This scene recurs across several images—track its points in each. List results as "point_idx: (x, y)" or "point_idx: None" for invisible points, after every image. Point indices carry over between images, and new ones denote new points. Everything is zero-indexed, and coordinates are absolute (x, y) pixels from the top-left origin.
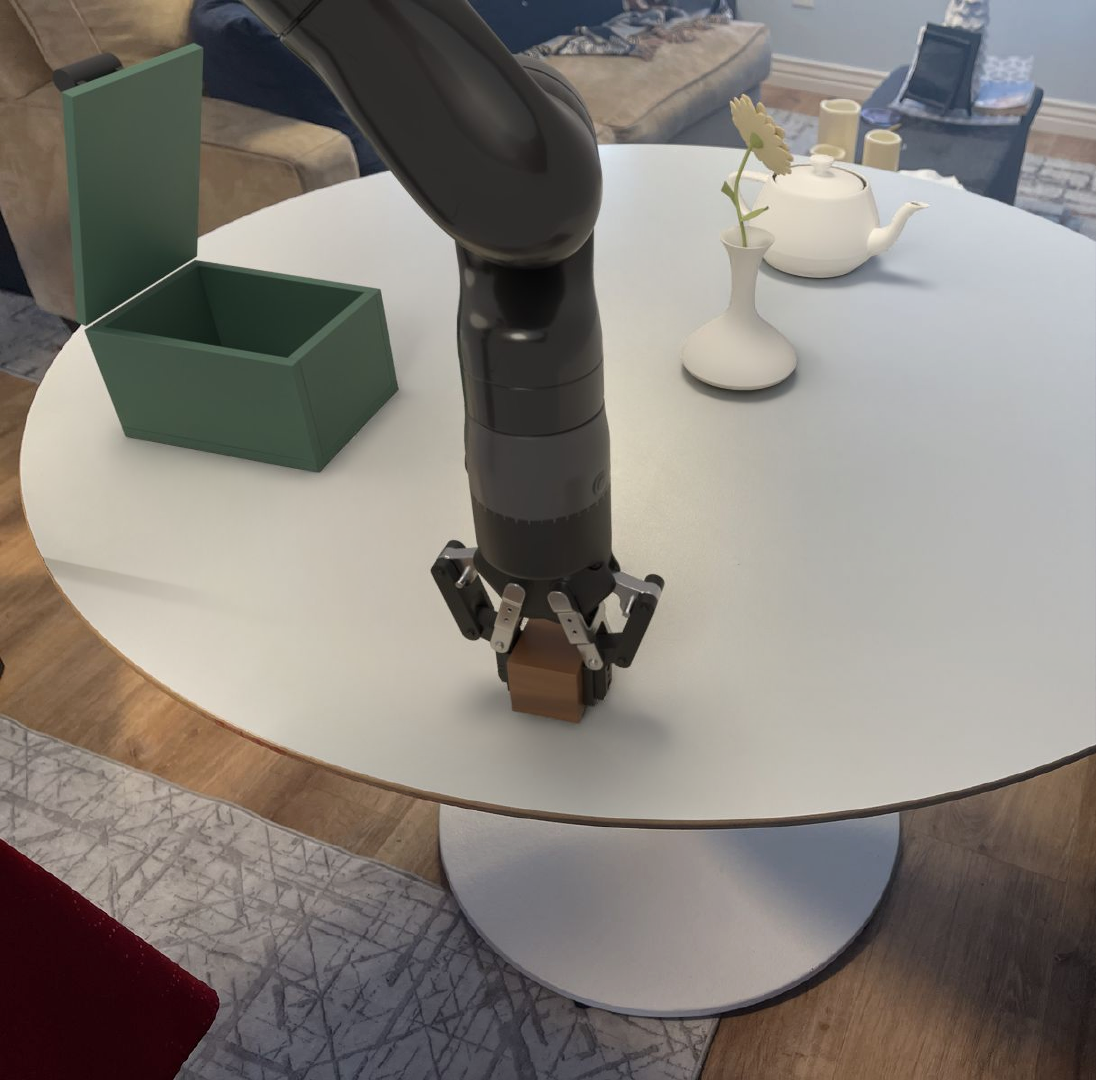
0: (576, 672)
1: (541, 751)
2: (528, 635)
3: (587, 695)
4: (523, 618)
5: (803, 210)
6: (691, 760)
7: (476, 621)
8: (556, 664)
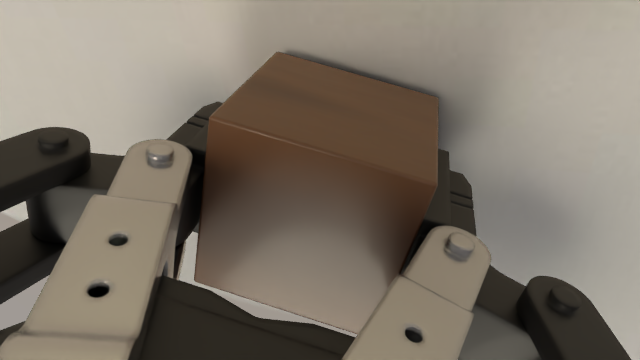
0: None
1: None
2: (223, 205)
3: None
4: (187, 180)
5: None
6: (613, 299)
7: (51, 261)
8: (318, 301)
